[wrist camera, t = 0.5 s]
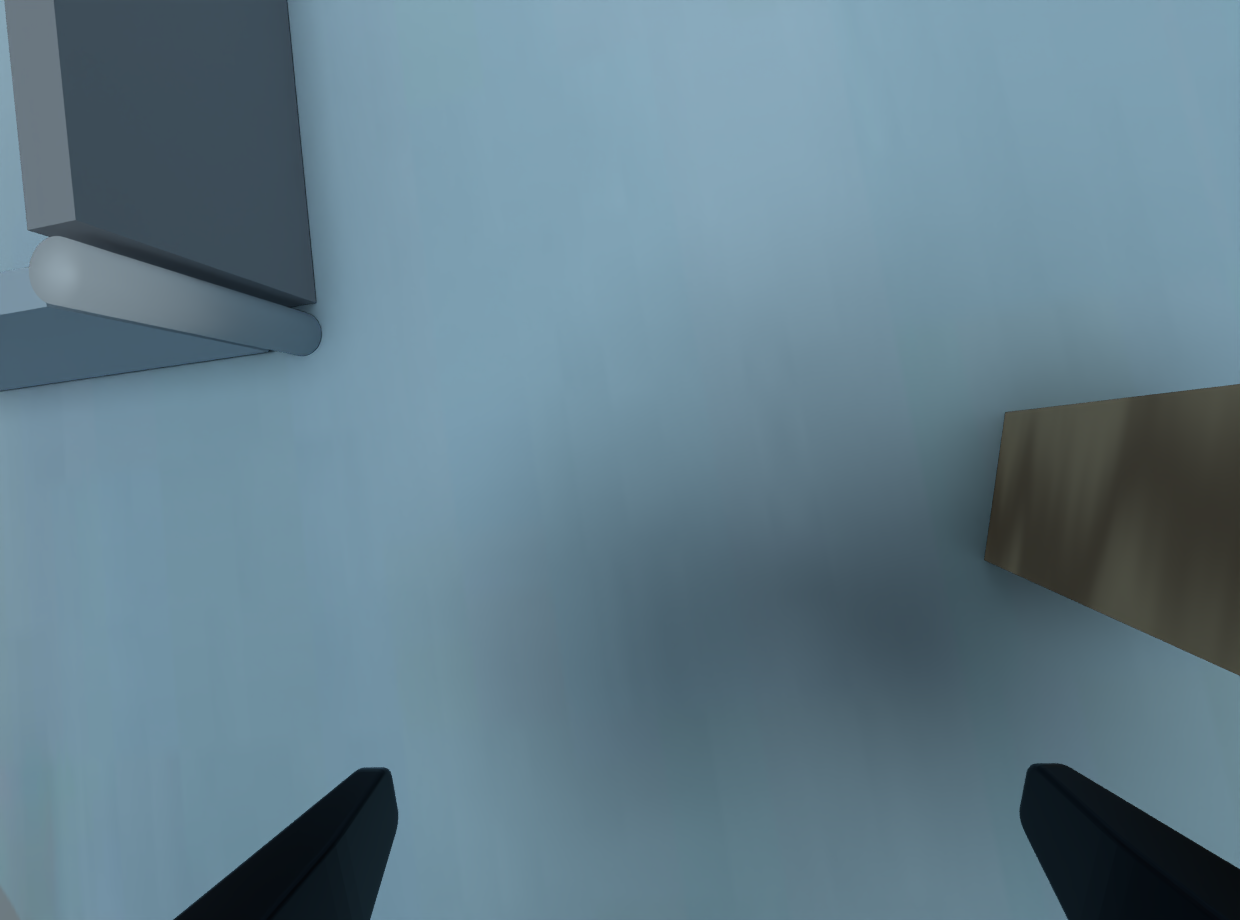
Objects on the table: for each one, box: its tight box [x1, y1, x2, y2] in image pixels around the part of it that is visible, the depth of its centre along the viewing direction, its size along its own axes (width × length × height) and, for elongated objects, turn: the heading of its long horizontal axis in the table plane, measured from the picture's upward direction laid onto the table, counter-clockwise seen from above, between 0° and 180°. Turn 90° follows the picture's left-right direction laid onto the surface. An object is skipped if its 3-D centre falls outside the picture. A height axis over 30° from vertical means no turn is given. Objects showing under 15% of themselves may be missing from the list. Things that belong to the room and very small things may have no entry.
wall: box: [4, 0, 321, 356], centre depth 20 cm, size 18×2×9 cm, turn 5°
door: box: [0, 267, 269, 391], centre depth 22 cm, size 15×2×8 cm, turn 95°
